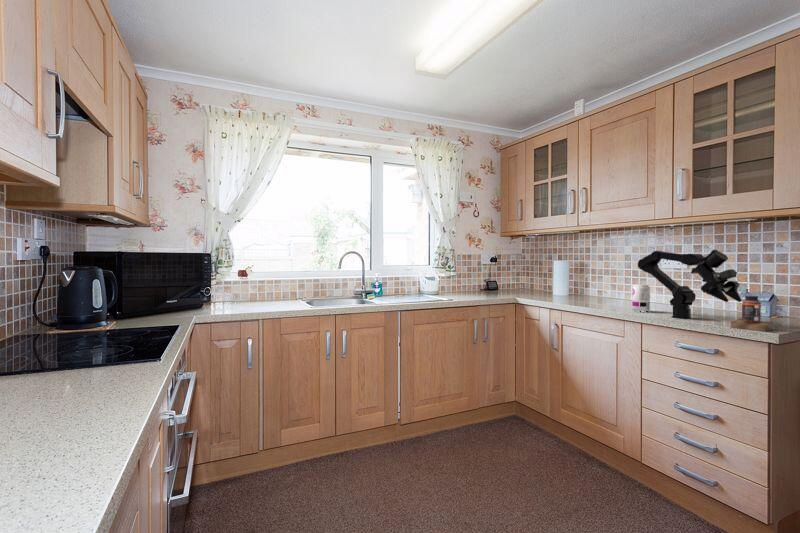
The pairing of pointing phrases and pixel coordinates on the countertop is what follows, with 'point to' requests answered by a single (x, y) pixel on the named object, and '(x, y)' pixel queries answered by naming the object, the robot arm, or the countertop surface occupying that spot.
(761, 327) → the trivet
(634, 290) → the supplement can
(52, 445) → the countertop surface
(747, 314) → the supplement bottle
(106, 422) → the countertop surface
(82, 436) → the countertop surface
